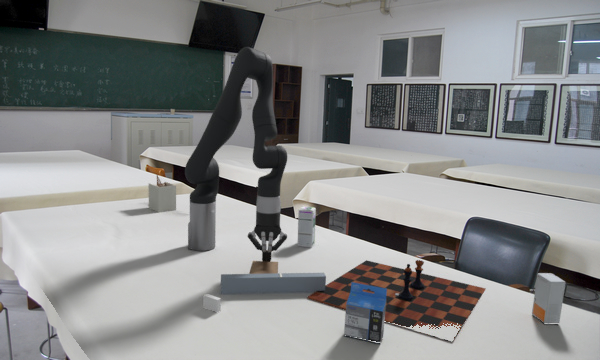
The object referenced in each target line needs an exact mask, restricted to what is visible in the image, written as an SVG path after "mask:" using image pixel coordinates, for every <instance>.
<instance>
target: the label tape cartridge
mask: <svg viewBox="0 0 600 360" xmlns="http://www.w3.org/2000/svg"><path fill="white" fill-rule="evenodd" d="M363 289H365V290H367V289H370V290H371V291H374V292H375V293H368V292H364V291H363ZM386 294H387V289H386V288H380V287H375V286H370V285H365V284H359V283H354V282H351V292H350V294H349V297H348V300H347V303H346V310H345V314H344V315H345V316H344V317H345V318H344V329H343V332H344V335H346V336H351V337H357V338H362V339H366V340H371V341H376V342H381V343H382V341H383V339H384V331H385V322H384V320H385V309H386ZM346 336H345V337H346ZM351 337H350V338H351ZM382 338H383V339H382ZM381 340H382V341H381Z"/></svg>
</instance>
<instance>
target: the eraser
mask: <svg viewBox="0 0 600 360" xmlns="http://www.w3.org/2000/svg"><path fill="white" fill-rule="evenodd" d="M202 299H203V301H202V302H203V303H202V304H203V307H202V308H203V309H204V308H206V309H205V310H207V309H209V310H208V311H210V310H212V311H211V312H213V311H215V312H214V313H216V312H218V313H220V312H221V306H222V298H221V297H219V296H215V295H212V294H209V293H205V294H203V298H202ZM219 311H220V312H219Z"/></svg>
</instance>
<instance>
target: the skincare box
mask: <svg viewBox="0 0 600 360" xmlns="http://www.w3.org/2000/svg"><path fill="white" fill-rule="evenodd" d="M565 288H566V281H565V280H563V279H562V278H560V277H559V276H557V275H555V274H554V273H551V272H549V273H548V272H539V273H537V275H536V281H535V289H534V297H533V302H532V303H533V304H532V311H531V315H532V314H533V315H532V316H534V317H535V318H536V317H537V318H538V319H540V320H541V321H542V322H544V323H559V324H560V323H561V315H562V308H563V301H564V293H565ZM537 318H536V319H537ZM538 319H537V320H538ZM540 320H539V321H540ZM541 321H540V322H541ZM542 322H541V323H542Z"/></svg>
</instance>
